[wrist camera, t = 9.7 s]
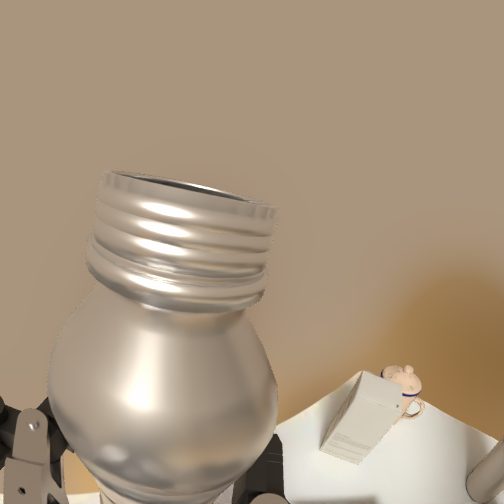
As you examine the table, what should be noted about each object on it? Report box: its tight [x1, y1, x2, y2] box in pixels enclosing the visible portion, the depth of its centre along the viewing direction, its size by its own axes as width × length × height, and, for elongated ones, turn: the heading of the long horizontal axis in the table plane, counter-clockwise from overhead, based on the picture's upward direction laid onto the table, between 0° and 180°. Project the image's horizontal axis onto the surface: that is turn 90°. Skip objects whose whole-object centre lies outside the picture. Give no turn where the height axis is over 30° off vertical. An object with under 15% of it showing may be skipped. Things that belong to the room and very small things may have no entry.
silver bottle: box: [47, 170, 279, 504], centre depth 8 cm, size 6×7×20 cm
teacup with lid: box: [380, 365, 425, 425], centre depth 39 cm, size 12×9×12 cm
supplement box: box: [320, 371, 402, 464], centre depth 32 cm, size 7×7×13 cm
